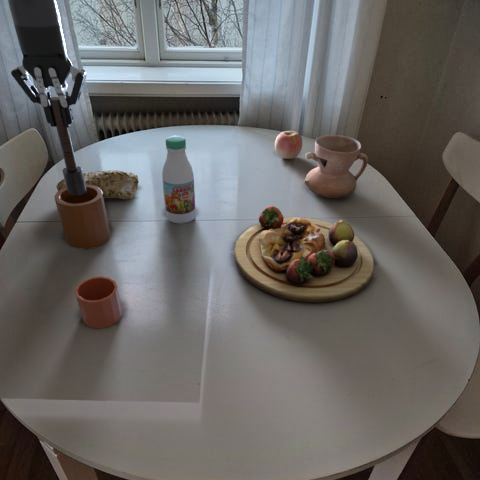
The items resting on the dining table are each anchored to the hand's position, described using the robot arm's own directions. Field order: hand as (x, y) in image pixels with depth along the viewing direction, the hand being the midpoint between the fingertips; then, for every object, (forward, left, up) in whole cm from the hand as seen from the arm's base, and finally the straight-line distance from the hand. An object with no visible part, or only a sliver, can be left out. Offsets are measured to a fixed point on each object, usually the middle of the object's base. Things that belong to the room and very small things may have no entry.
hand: (61, 125), depth 85 cm
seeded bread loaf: (-2, +21, -26) cm, 34 cm away
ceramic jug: (+63, +29, -26) cm, 74 cm away
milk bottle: (+21, +12, -26) cm, 36 cm away
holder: (+10, -27, -26) cm, 39 cm away
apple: (+52, +53, -26) cm, 78 cm away
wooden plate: (+51, -6, -26) cm, 58 cm away
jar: (0, +1, -26) cm, 26 cm away
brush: (0, 0, -14) cm, 14 cm away
